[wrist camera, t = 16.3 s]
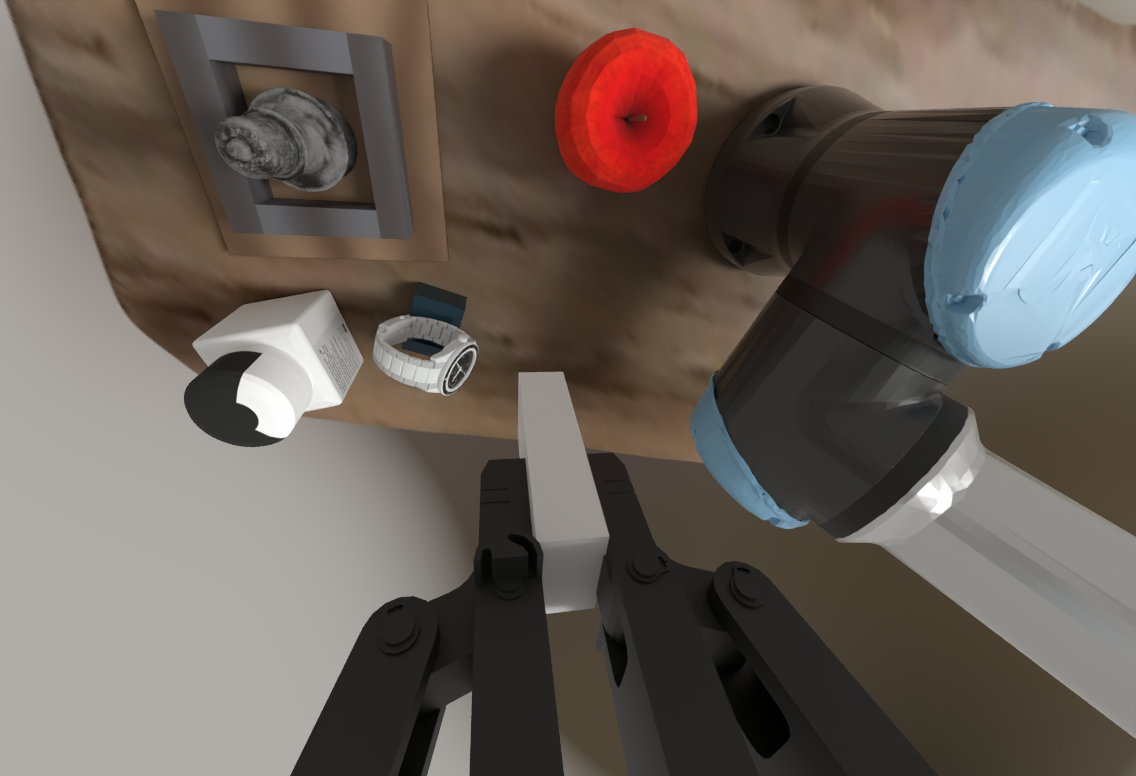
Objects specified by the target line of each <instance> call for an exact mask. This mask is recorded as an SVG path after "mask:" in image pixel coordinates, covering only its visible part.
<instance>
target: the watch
mask: <svg viewBox="0 0 1136 776" xmlns="http://www.w3.org/2000/svg"><path fill="white" fill-rule="evenodd" d="M466 298H467V297H464V296H461V295H458V294H455V293H452V292H449V291H446V290H443V289H440V288H437V287H434V286H430V285H427V284H424V283H421V282H420V283H419V285H418V288H417V290H416V292H415V294H414V299H413V303H412V307H411V311H410V315H403V316H399V317H395V318H392V319H389V320H387V321H385V322H383V323H381V324H380V325H379V326H378V329H377V332H376V336H375V342H374V350H373V359H374V361H375V363H376V364H377V366H378V367H379V368H380V369H381V370H382V371H383V372H384V373H385V374H387V375H388V376H390V377H392V378H393V379H395V380H397V381H399V382H403V383H405V384H407V385H410V386H415V387H419V388H422V390H424V391H426V392H434V393H441V394H443V395H445V396H448V395H451V394H453V393H454V392H456V391H457V390H458V389H459V388H460V387H461V386H462V385H463V384H464V382H465V381H466V380H467V378H468V377H469V375H470V374H471V372H472V370H473V368H474V366H475V363H476V361H477V357H478V346H477V344H476V341H475V340H474V339H472V338H471V337H470V336H469V335H468V334H466V333H465V332H464V331H462V330H461V329H459V327H460V324H461V321H462V317H463V314H464V311H465V305H466ZM401 342H403V345H402V349H405V350H409V351H413V352H416V353H420V354H424V355H427V356H431V359H430V360H432V361H428V360H421V359H419V358H415V357H409V355H407V354H404V353H402V352H398V350H396V349H395V348H393V347H391V346H393V345H395V344H398V343H401ZM421 361H422V363H421ZM415 369H416V370H415ZM414 373H415V374H414ZM413 377H414V378H413ZM415 383H416V385H415Z"/></svg>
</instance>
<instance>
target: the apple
mask: <svg viewBox="0 0 1136 776" xmlns="http://www.w3.org/2000/svg"><path fill="white" fill-rule="evenodd" d="M696 124H697V99H696V83H695V81H694V78H693V76H692V73H691V70H690V68H689V65H688V63H687V60H686V57H685V55H684V53H683V52H682V51H681V50H680V49H678V48H677V47H676V46H675V45H674V44H673V43H672V42H671V41H670V40H669V39H667V38H664V37H661V36H658V35H655V34H652V33H649V32H646V31H643V30H640V29H637V28H630V29H625V30H619V31H615V32H612V33H609V34H606V35H605V36H603V37H602V38H600V39H599V40H597V41H596V42H594V43H593V44H591V45H590V46H589V47H588V48H586V49H585V50H584V51H583V52H582V53H581V54H580V55H579V56H578V58H577V59H576V61H575V62H574V63H573V65H572V66H571V68H570V69H569V71H568V72H567V74H566V77H565V79H564V81H563V84H562V86H561V88H560V91H559V93H558V98H557V102H556V107H555V133H556V137H557V141H558V145H559V149H560V153H561V156H562V158H563V160H564V162H565V164H566V166H567V168H568V169H569V170H570V171H571V172H572V173H573V174H574V175H575V176H576V177H577V178H579V179H580V180H582V181H584V182H586V183H588V184H590V185H592V186H595V187H598V188H602V189H605V190H609V191H613V192H629V193H633V192H637V191H640V190H643V189H646V188H647V187H649V186H650V185H652V184H654V183H655V182H657V181H658V180H660V179H661V178H662V177H663V176H664V175H666V174H667V173H668V172H669V171H670V170H671V169H672V168H673V167H674V166H675V165H676V164H677V163H678V161H679V160H680V158H681V157H682V155H683V154H684V152H685V151H686V149H687V148H688V146H689V145H690V143H691V142H692V138H693V135H694V131H695V127H696Z"/></svg>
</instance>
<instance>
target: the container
mask: <svg viewBox="0 0 1136 776" xmlns="http://www.w3.org/2000/svg"><path fill="white" fill-rule="evenodd" d="M192 345H193V347H194V349H195V350H196V351H197V353H198V354H199V355H200V357H201V358H202V359H203V361H204V362H205V363H206V364H207V366H208V367H207V368H206V369H205V370H204V371H203V372H202V373H200V374H199V375H198V376H197V377H196V378H195V379H194V380H192V381H191V382H190V383H189V385H188V386H187V388H186V390H185V394H184V403H185V407H186V409H187V412H188V414H189V416H190V417H191V419H192V420H193V422H194V423H195V424H196V425H197V426H198V427H199V428H200V429H202V430H203V431H204V432H206V433H207V434H208V435H210V436H212V437H214V438H216V439H218V440H220V441H223V442H226V443H229V444H232V445H237V446H244V447H259V446H266V445H271V444H274V443H277V442H279V441H281V440H283V439H284V438H286V437H287V436H288V435H289V434H290V432H291V431H292V430H293V428H294V427H295V425H296V423H297V422H298V420H299V419H300V417H301V416H302V414H303V413H304V412H306V411H311V410H316V409H321V408H327V407H332V406H337V405H340V404H341V403H342V401H343V399H344V397H345V395H346V393H347V392H348V390H349V388H350V386H351V384H352V382H353V380H354V378H355V377H356V375H357V373H358V371H359V369H360V367H361V365H362V363H363V362H364V361H363V357H362V355H361V353H360V351H359V349H358V347H357V345H356V343H355V341H354V339H353V337H352V335H351V333H350V331H349V329H348V327H347V325H346V323H345V321H344V319H343V317H342V315H341V313H340V311H339V309H338V307H337V305H336V303H335V301H334V299H333V297H332V295H331V293H330V291H328V290H321V291H315V292H310V293H305V294H299V295H294V296H288V297H283V298H277V299H272V300H266V301H261V302H255V303H250V304H244V305H242V306H241V307H239V308H238V309H237V310H235V311H234V312H233V313H231V314H230V315H229V316H227V317H226V318H225V319H223V320H222V321H221V322H219V323H218V324H216V325H215V326H214V327H212V328H211V329H210V330H208V331H207V332H206V333H204V334H203V335H202V336H200V337H199V338H198V339H196V340H195V341H194V342H193V344H192Z"/></svg>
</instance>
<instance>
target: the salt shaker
mask: <svg viewBox="0 0 1136 776" xmlns="http://www.w3.org/2000/svg"><path fill="white" fill-rule="evenodd" d="M215 142H216V146H217V149H218V151H219V153H220V155H221V156H222V158H223V159H224V160H225V162H226V163H227V164H228V165H229V166H230V167H232V168H233V169H234V170H235V171H237V172H238V173H240V174H242V175H244V176H247V177H249V178H254V179H268V178H272V179H275V180H280V181H282V182H283V183H285V184H286V185H288V186H291V187H293V188H296V189H298V190H302V191H308V192H318V191H324V190H327V189H329V188H331V187H334V186H335V185H336V184H337V183H338V182H339V181H340V180H341V179H342V178H343V177H345V176H346V175H347V174H349V173H350V172H351V171H352V169H353V167H354V165H355V163H356V159H357V154H358V151H357V141H356V138H355V135H354V132H353V130H352V128H351V126H350V125H349V123H348V121H347V120H346V119H345V117H344V116H343V115H342V114H341V113H340V112H339V111H338V110H337V109H336V108H335V107H333V106H332V105H331V104H329V103H327V102H325V101H323V100H321V99H319V98H316V97H312V96H310V95H308V94H306V93H304V92H302V91H300V90H296V89H291V88H287V87H277V88H270V89H268V90H265V91H263V92H261V93H259V95H258V96H257V97H256V98H255V99H254V100H253V101H252V102H251V105H250V107H249V109H248V111H245V112H244V113H243V114H242V115H241V116H230V117H228V118H226V119H224V120H222V121H221V122H220V123H219V124H218V125H217V128H216V130H215Z"/></svg>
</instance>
